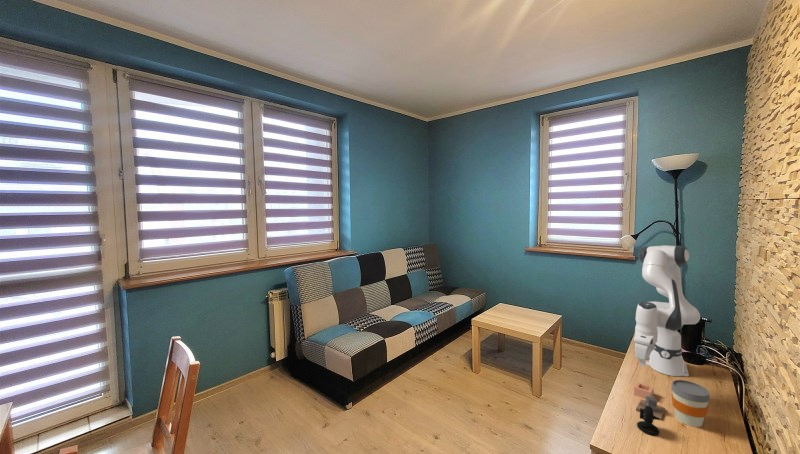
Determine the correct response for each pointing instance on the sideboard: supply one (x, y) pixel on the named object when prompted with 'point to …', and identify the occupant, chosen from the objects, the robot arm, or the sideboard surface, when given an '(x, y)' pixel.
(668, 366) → the robot arm
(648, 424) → the webcam
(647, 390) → the pink square socket block
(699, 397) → the reusable coffee cup
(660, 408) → the base
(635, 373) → the sideboard surface
